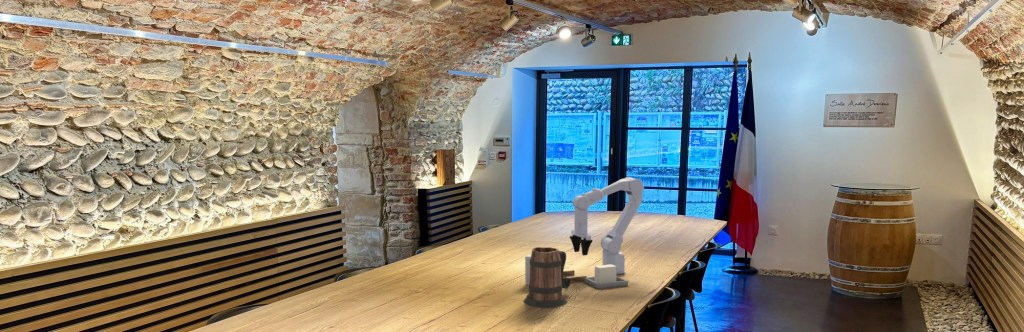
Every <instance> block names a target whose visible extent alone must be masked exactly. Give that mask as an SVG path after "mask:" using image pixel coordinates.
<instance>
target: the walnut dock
mask: <svg viewBox="0 0 1024 332" xmlns="http://www.w3.org/2000/svg"><path fill="white" fill-rule="evenodd" d="M575 275H576V272H575V270H574V269H571V270H570V269H569V270H563V277H569V276H571V277H569V278H570V280H571V283H570V284H572V283H580V282H584V278H585V277H588V276H587V275H581V276H575ZM572 276H573V277H572Z"/></svg>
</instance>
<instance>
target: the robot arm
mask: <svg viewBox="0 0 1024 332" xmlns="http://www.w3.org/2000/svg"><path fill="white" fill-rule="evenodd" d="M644 190H645V186H644V183H643V181H642V180H641V179H639V178H633V177H631V176H626V177H625V178H621V179H619V180H617V181H615V182H613V183H611V184H610V185H607V186H605V187H603V188H602V189H600V188H596V187H595V188H591V190H590V191H588V192H583V193H582V195H580V194H579V195H576V196H575V197H574V198H573V201H572V206H573V207H574V218H573V219H574V220H573V222H574V226H573V227H574V229H572V230H571V231H570V233H571V235H570V236H569V239H570V241H571V243H572V247H573V251H574V253H579V252H580V250H581V254H582V255H581V256H583V257H585V256H588V253H589V250H590V247H591V245H592V243H593V239H592V236H591V235H590V234H589V233H588V225H589V224H588V219H589V218H588V216H589V215H588V214H589V213H588V209H589V207H590V206H593V205H594V204H596V203H599V202H601V201H603V200H604V198H605V197H606V196H609V195H612V194H613V193H616V192H618V191H624V192H625V193H626V195H627V198H628V201H627V203H626V204H625V206H624V208H623V210H622V211H621V213H620V215H619V217H618V219H617V220H616V222H615V224H614V226H613V227H612V229H611V230H610V231H609V232H607V233H606V235H605V236H604V237H603V238H602V239H601V240H600V247H601V248H602V265H610V264H612V265H614V266H616V268H617V270H616V275H619V274H626V271H625V266H626V265H625V262H626V261H625V259H626V258H625V254H624V253H623V252H621V250H622V244H623V242H624V234H625V232H626V230H627V229H628V227H629V226H630V224H631V222H632V220H633V218H634V217H635V215H636V213H637V211H638V210H639V208H640V205H642V203H643V194H644V193H643V191H644ZM580 248H581V249H580Z"/></svg>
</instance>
